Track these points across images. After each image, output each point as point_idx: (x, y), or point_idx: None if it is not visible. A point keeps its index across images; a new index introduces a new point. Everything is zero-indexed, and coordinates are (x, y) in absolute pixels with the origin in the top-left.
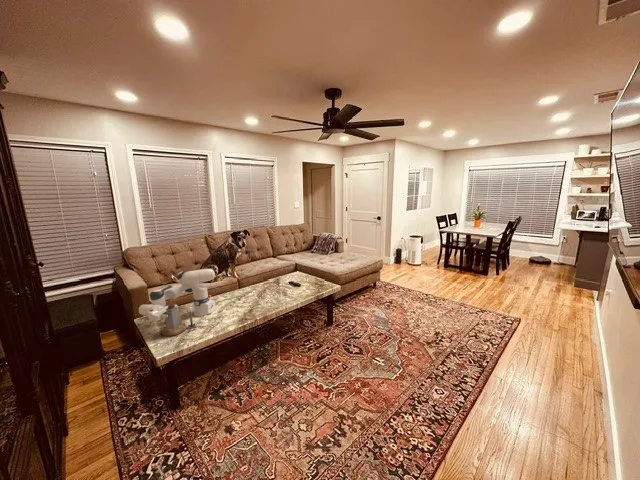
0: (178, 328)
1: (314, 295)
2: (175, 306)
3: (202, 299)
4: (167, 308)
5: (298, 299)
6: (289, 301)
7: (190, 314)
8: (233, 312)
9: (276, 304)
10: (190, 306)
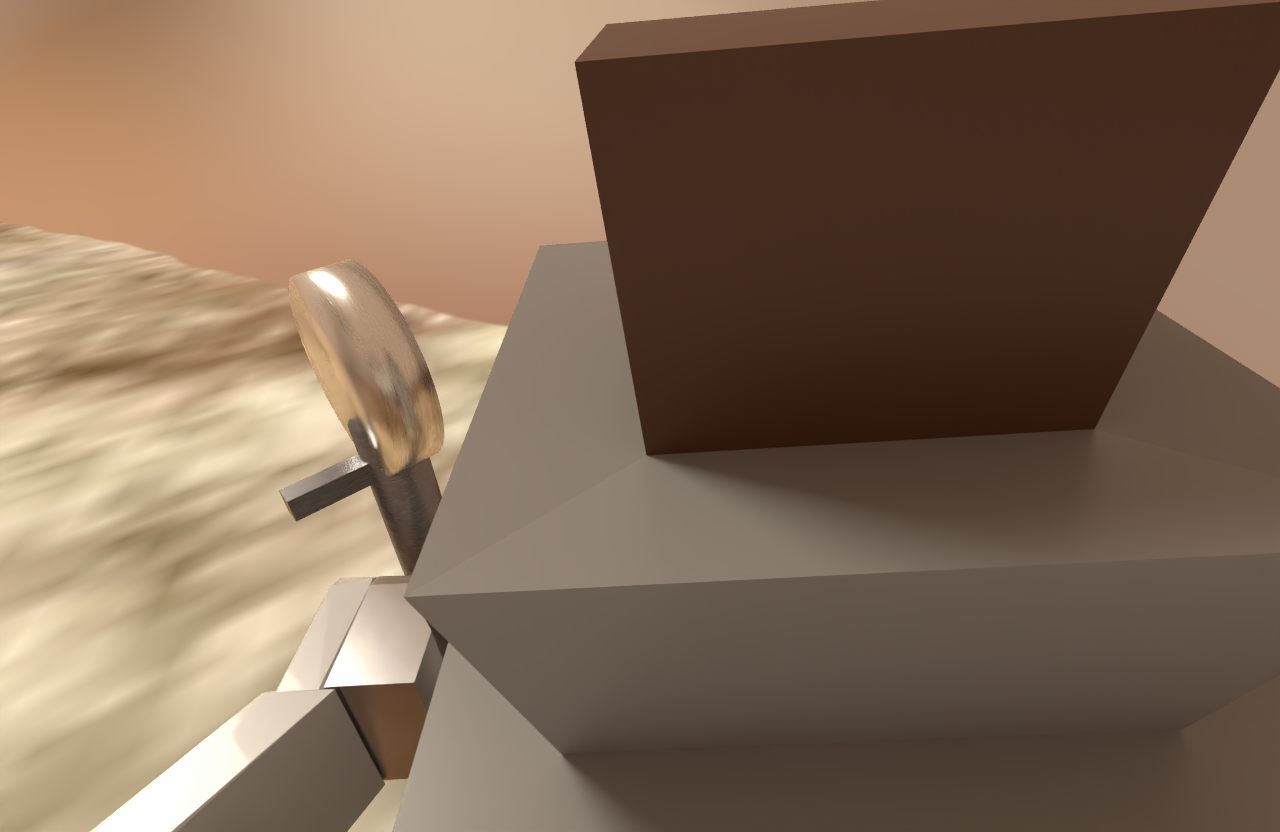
0: None
1: (13, 226)
2: (534, 297)
3: None
4: (1198, 486)
5: (32, 250)
6: (39, 267)
7: (434, 473)
8: (56, 468)
9: (53, 295)
10: (297, 275)
